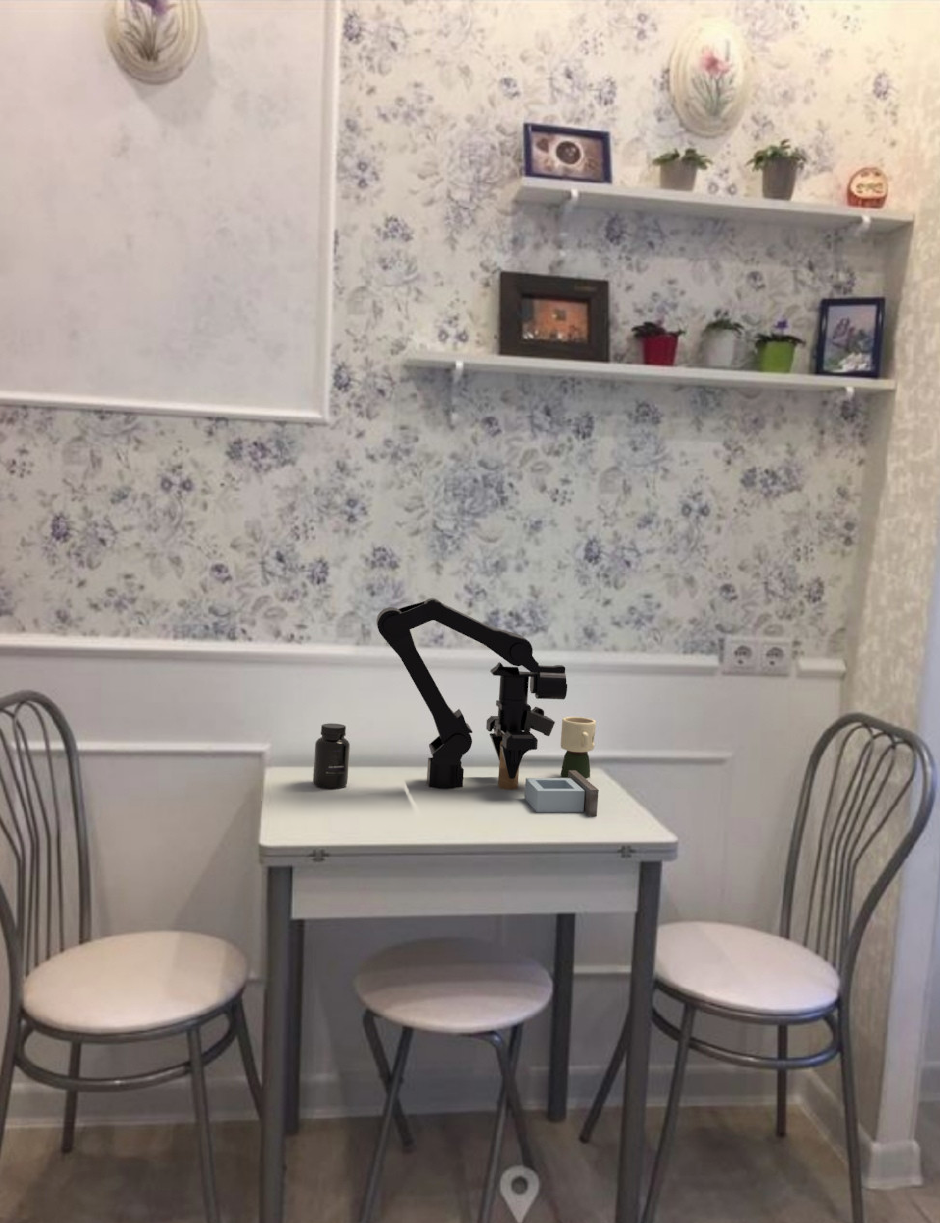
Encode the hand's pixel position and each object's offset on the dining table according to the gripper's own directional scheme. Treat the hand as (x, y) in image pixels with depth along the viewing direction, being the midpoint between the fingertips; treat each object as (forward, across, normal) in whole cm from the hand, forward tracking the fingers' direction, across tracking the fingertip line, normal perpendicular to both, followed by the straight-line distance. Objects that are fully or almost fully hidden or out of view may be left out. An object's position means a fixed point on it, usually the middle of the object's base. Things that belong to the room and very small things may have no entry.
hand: (508, 774), depth 206 cm
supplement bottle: (+4, +5, +35) cm, 36 cm away
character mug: (+4, +9, -17) cm, 20 cm away
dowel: (+4, 0, 0) cm, 4 cm away
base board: (+4, -13, -3) cm, 14 cm away
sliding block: (+2, -13, -6) cm, 14 cm away
